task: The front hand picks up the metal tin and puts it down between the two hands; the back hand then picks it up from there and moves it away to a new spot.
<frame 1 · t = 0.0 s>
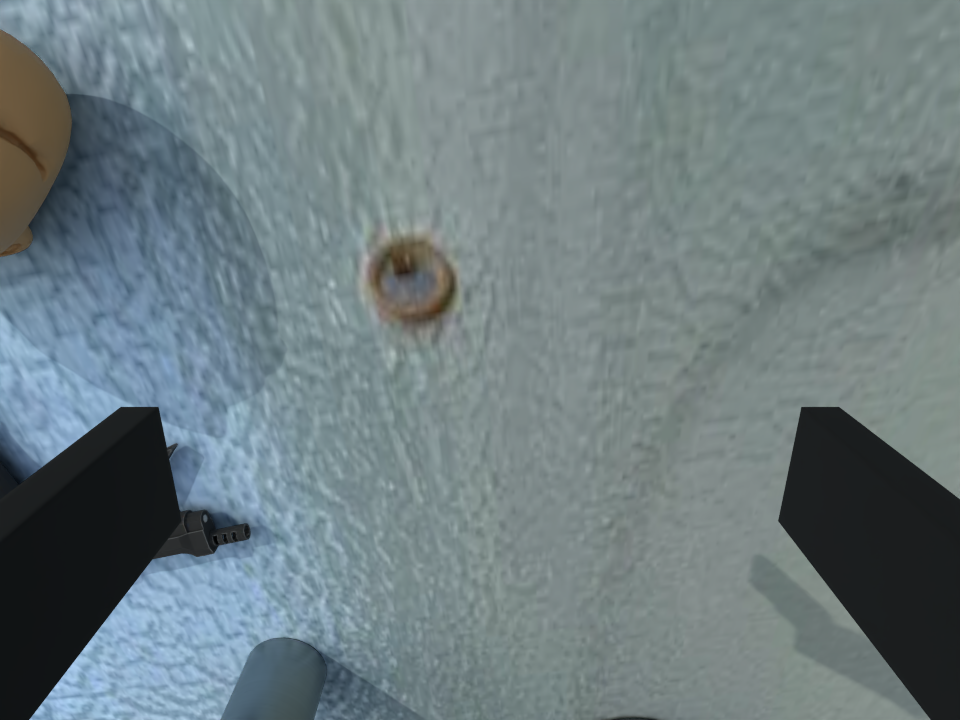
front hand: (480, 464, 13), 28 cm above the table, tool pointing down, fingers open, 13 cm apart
handgun: (92, 474, 45), on the table
tin: (287, 668, 52), on the table
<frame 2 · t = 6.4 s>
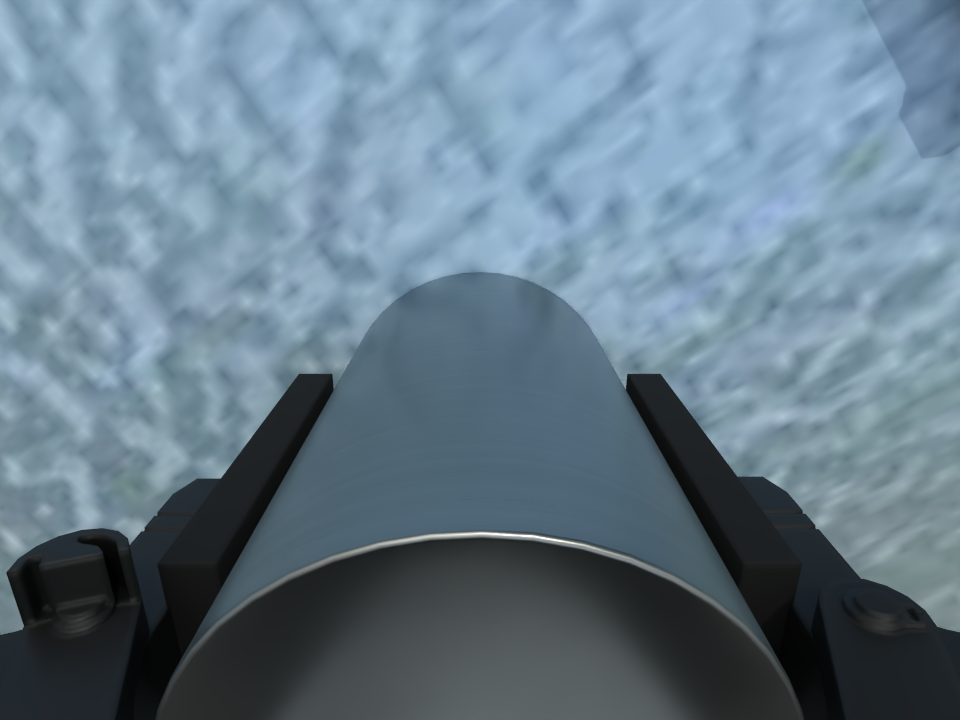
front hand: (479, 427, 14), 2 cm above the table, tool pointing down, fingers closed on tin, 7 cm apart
tin: (479, 399, 16), on the table, touching front hand
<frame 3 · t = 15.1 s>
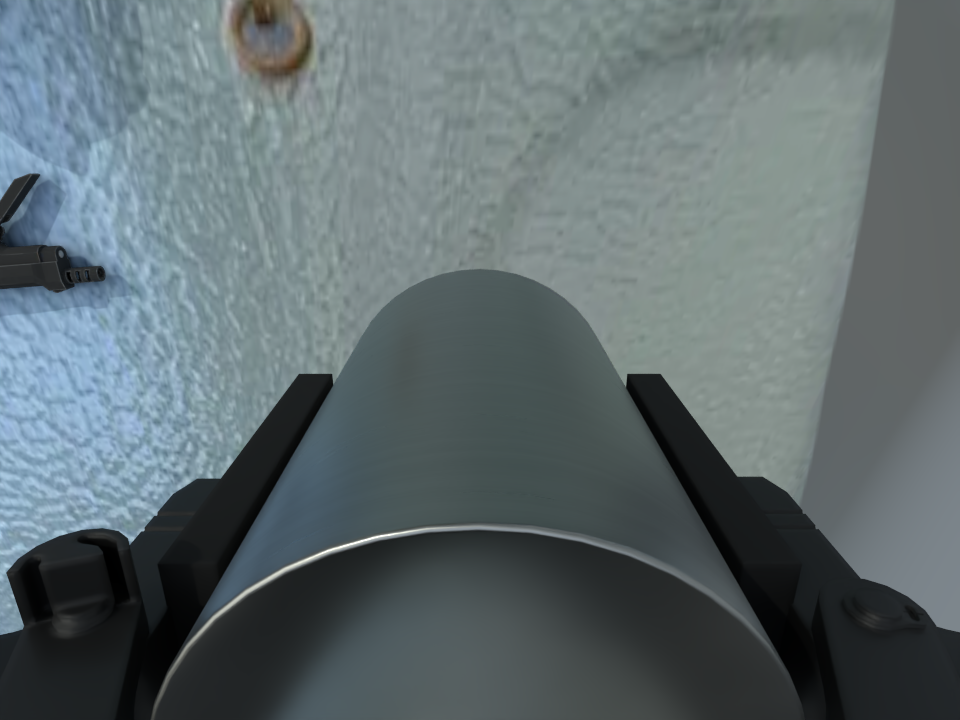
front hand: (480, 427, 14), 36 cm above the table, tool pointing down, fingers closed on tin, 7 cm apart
tin: (479, 397, 16), point 34 cm above the table, touching front hand
when the front hand's fingers open (3 cm above the table, at t = 23.9 s): tin drops 1 cm, on the table.
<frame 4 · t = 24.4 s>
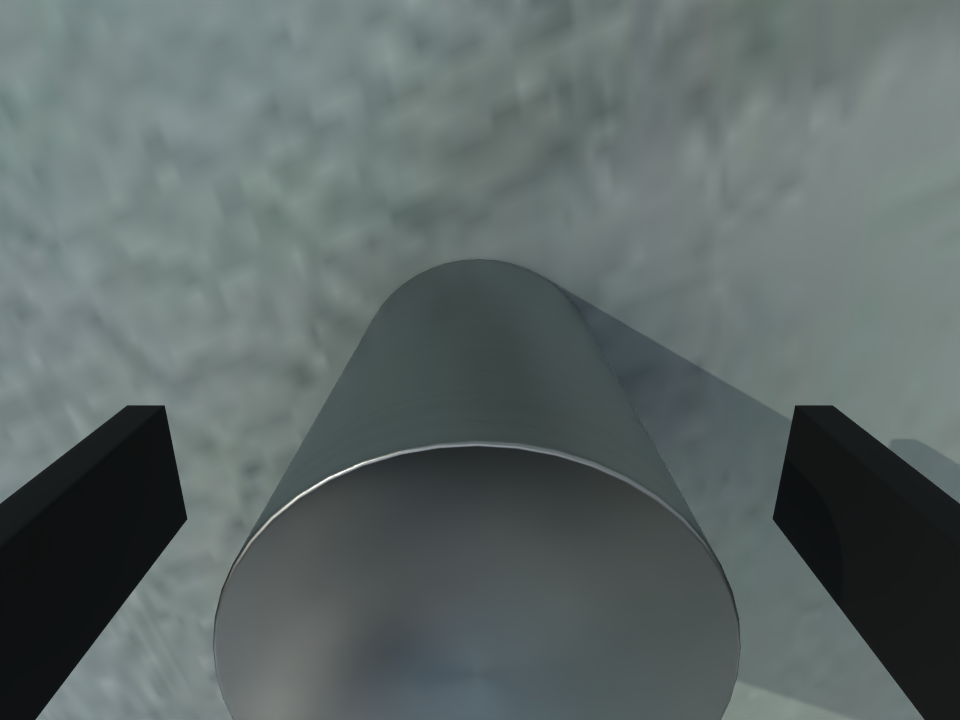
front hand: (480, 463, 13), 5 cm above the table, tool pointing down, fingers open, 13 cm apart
tin: (478, 376, 17), on the table
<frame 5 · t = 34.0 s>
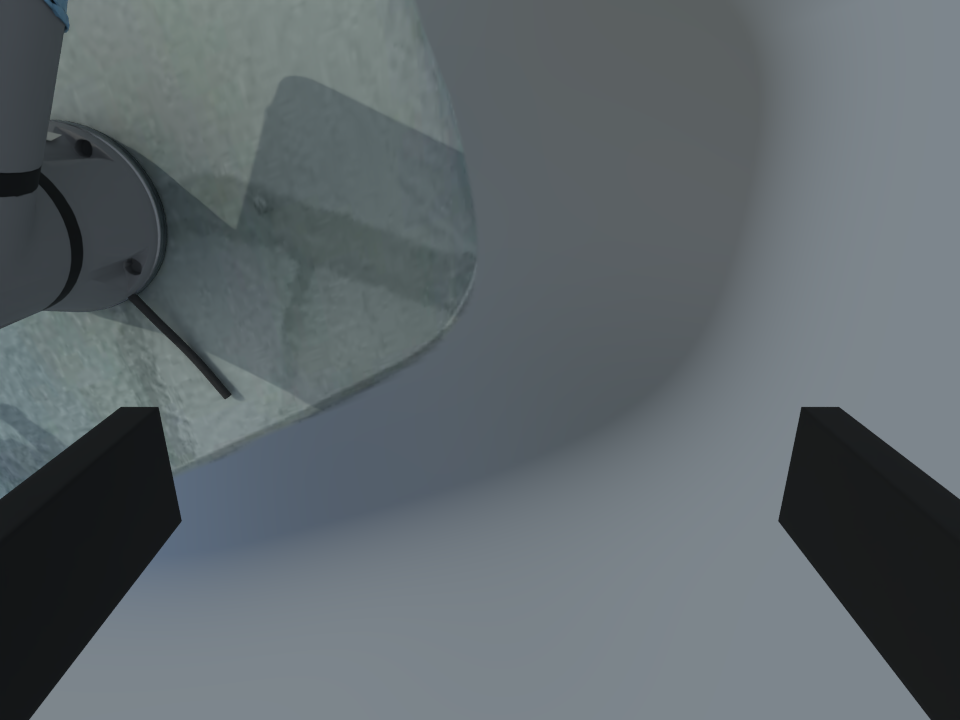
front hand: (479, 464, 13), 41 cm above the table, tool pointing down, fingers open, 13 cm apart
when the back hand's fingers open (3 cm above the table, at t = 47.1 s): tin drops 1 cm, on the table.
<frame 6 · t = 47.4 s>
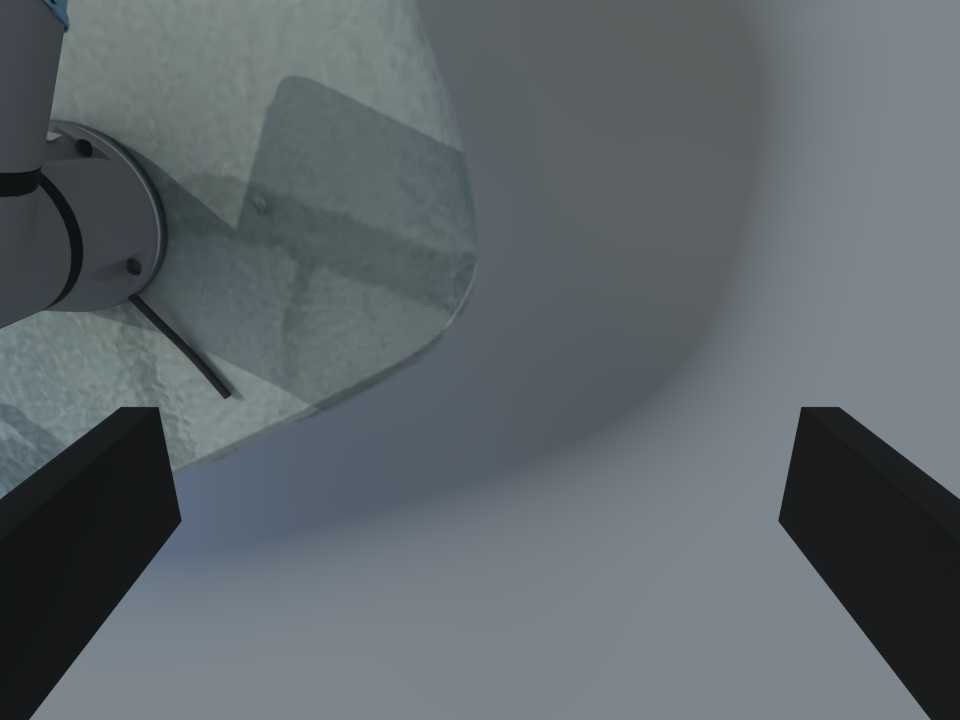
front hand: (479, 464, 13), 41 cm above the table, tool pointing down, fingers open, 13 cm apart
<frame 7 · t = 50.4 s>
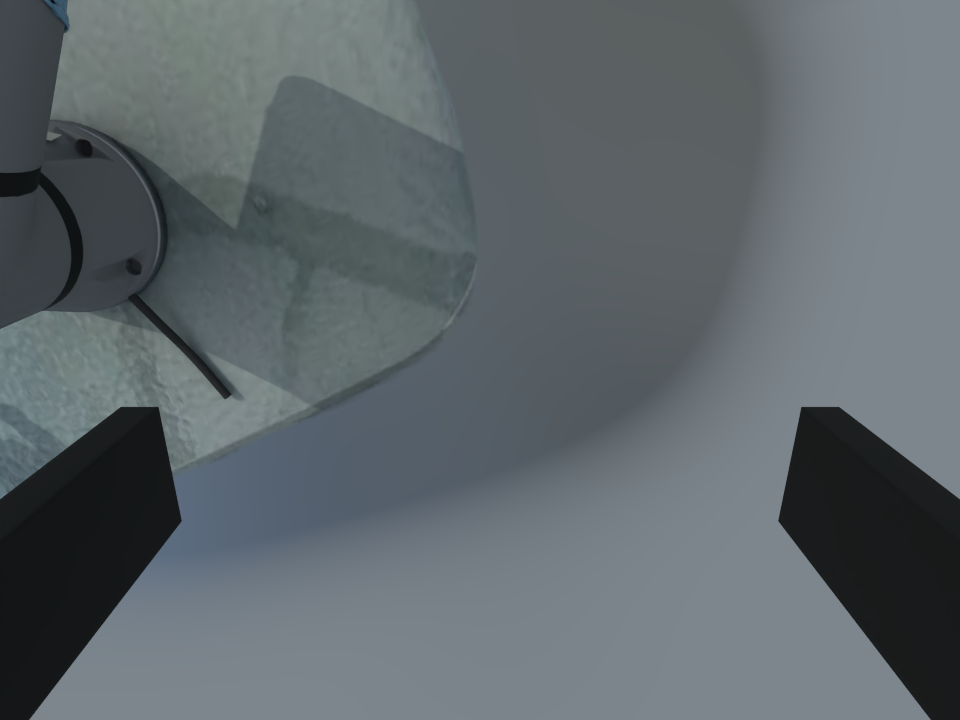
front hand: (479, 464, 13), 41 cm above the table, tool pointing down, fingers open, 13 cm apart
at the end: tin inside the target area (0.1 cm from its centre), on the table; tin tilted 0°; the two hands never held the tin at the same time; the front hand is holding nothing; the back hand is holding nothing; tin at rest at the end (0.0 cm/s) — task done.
